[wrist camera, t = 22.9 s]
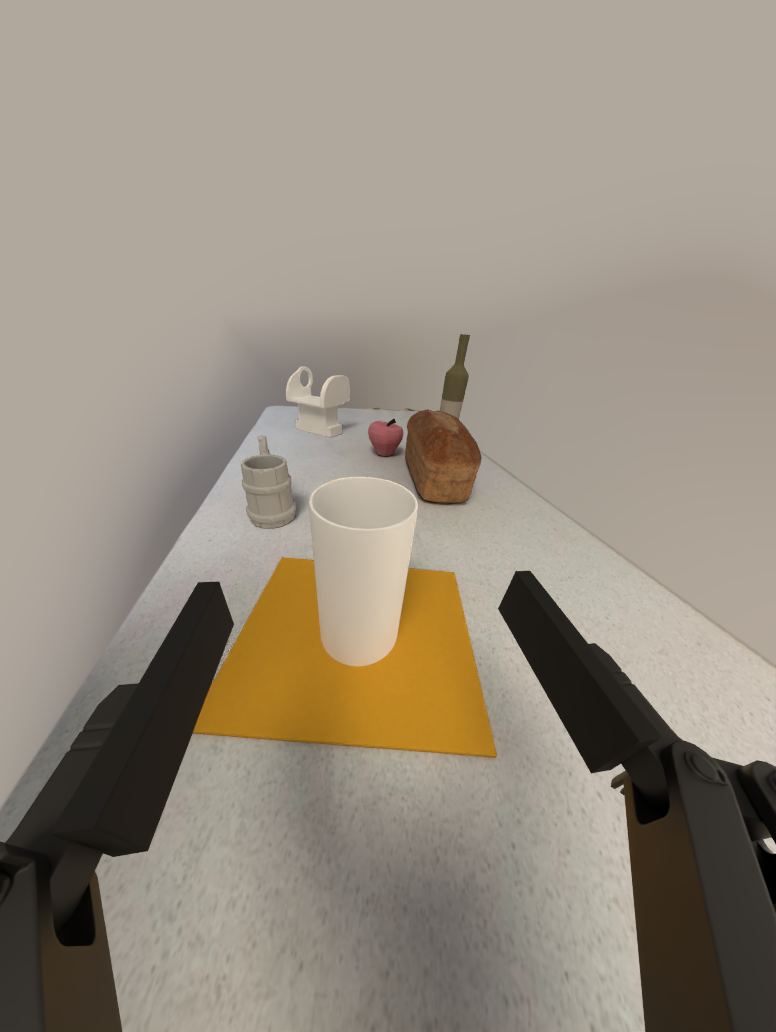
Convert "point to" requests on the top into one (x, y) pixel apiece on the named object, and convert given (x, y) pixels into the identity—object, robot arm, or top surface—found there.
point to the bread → (441, 456)
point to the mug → (267, 489)
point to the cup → (361, 564)
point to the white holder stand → (318, 403)
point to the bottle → (456, 381)
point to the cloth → (352, 675)
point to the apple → (385, 437)
